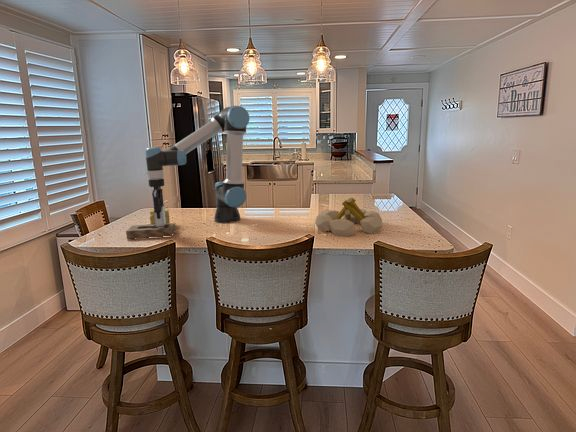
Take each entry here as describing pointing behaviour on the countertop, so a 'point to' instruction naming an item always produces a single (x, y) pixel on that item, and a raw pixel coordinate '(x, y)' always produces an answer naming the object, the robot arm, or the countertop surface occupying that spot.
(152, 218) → the cheese
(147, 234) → the keyhole plate
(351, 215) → the campfire
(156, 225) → the peg
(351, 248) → the countertop surface
